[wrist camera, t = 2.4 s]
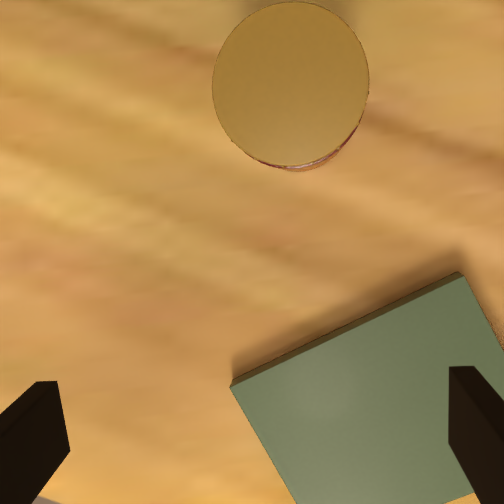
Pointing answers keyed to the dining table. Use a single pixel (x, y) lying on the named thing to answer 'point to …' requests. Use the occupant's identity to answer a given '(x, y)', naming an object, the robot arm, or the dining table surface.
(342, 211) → the dining table surface
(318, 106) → the jam lid
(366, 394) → the corner board
